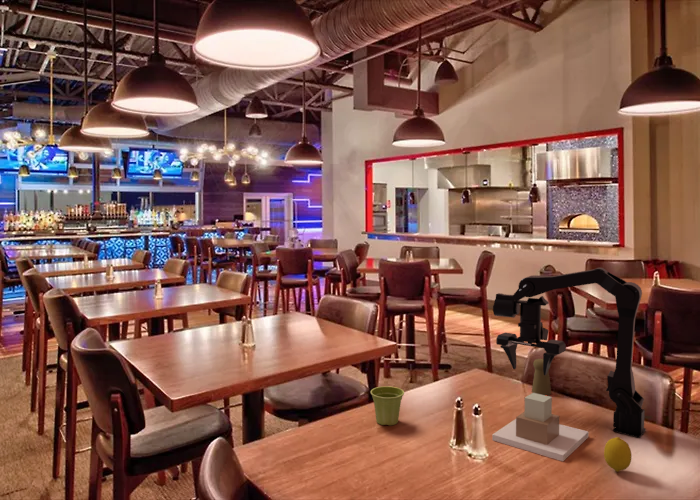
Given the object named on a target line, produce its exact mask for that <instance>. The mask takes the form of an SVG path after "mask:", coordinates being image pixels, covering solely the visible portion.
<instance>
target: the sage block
mask: <svg viewBox="0 0 700 500" xmlns="http://www.w3.org/2000/svg"><path fill="white" fill-rule="evenodd" d="M552 404H553V397H552V396H551V395H548V396H545V395H541V394H537V393H532V392H531V393H530V394H528V395H526V396H525V397H524V411H523V412H524V417H527V418H531V419H535V420H539V421H542V422H544V421H546V420H547V419H548V418H550V417H551V416H552V414H553V413H552V411H553V410H552V409H553V408H552V406H553V405H552Z"/></svg>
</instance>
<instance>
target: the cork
mask: <svg viewBox="0 0 700 500" xmlns="http://www.w3.org/2000/svg"><path fill="white" fill-rule="evenodd" d="M532 364H533V367H534V368H533V369H534V375H533V382H532V387H531V393H532V392H533V393H537V394H541V395H548V396H551V395H552V389H551V387H552V386H551V379H550V372H549V370H550V369H551V366H550V367H549V370H548V372H547V374H546V375H544V373H543V358H536V359H534V361H533V363H532ZM550 394H551V395H550Z"/></svg>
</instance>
